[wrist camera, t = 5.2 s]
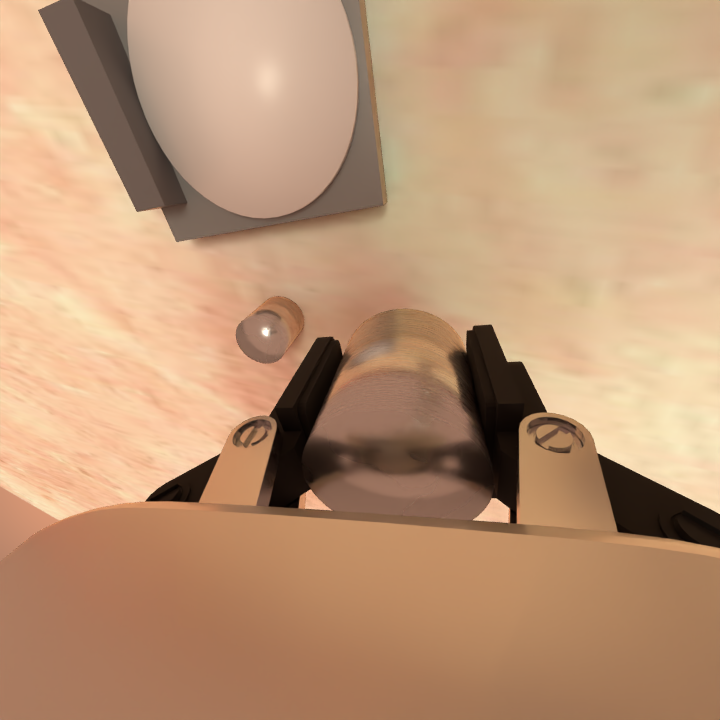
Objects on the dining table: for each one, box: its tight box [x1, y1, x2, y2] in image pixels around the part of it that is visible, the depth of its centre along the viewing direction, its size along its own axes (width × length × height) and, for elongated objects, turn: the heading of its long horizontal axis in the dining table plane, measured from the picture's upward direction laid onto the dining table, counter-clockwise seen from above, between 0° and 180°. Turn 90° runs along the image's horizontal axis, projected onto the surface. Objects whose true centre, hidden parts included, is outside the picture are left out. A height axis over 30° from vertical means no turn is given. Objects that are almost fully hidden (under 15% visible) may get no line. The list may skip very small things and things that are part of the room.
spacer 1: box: [236, 296, 304, 363], centre depth 28 cm, size 4×4×5 cm
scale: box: [38, 0, 387, 242], centre depth 19 cm, size 15×17×5 cm
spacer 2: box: [302, 309, 494, 520], centre depth 9 cm, size 4×4×5 cm
